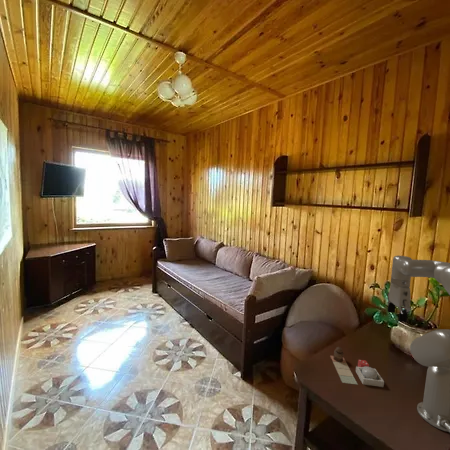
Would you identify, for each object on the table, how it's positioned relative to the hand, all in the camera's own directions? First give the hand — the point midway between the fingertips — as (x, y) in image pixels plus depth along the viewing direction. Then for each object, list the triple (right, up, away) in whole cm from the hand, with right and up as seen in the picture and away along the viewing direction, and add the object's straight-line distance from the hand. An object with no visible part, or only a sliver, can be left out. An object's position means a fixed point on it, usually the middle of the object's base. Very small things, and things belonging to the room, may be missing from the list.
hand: (396, 316), depth 119 cm
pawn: (-24, -26, +9) cm, 36 cm away
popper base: (-15, -28, -1) cm, 32 cm away
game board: (-25, -27, +2) cm, 37 cm away
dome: (-16, -27, -4) cm, 32 cm away
